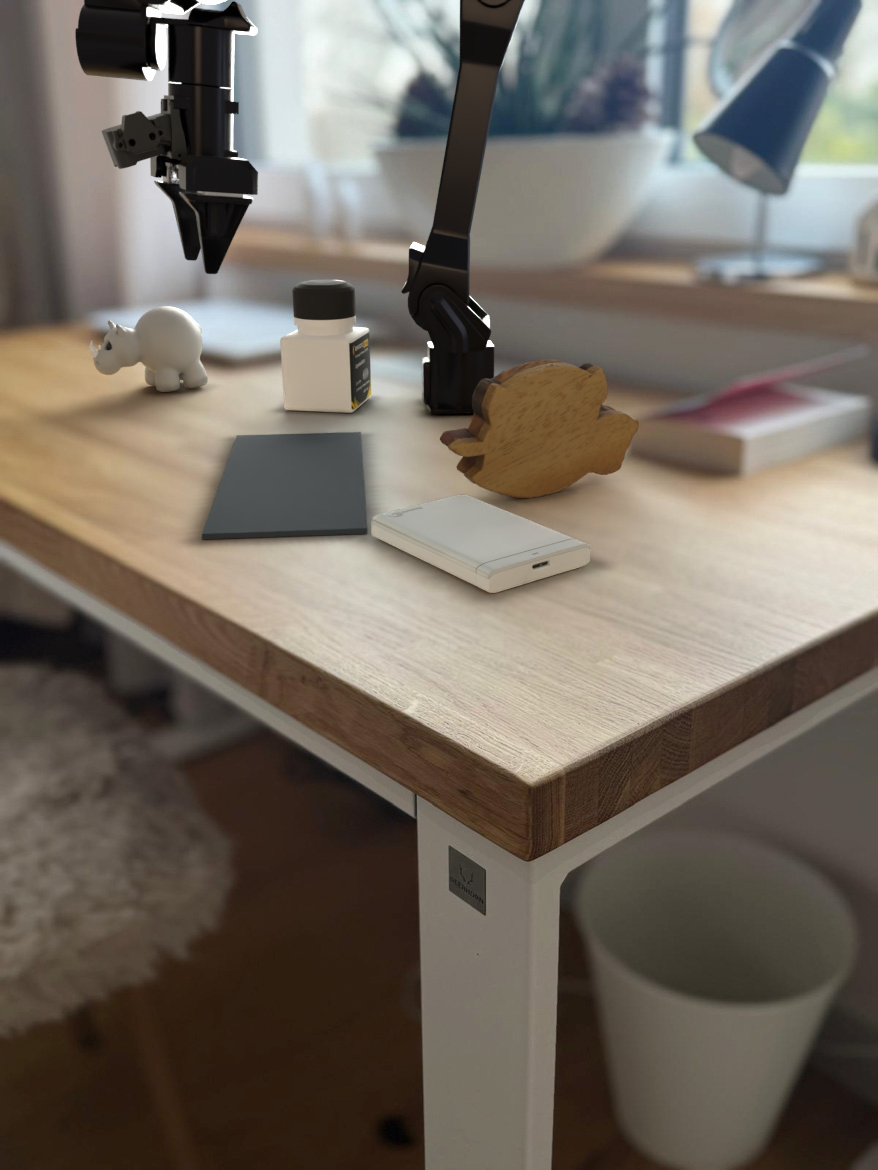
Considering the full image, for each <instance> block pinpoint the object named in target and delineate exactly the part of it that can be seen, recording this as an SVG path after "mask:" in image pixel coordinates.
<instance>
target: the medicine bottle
mask: <svg viewBox="0 0 878 1170" xmlns="http://www.w3.org/2000/svg"><path fill="white" fill-rule="evenodd" d="M291 291H292V292H291V293H292V309H293V325H294V326H296V327H297V329H295V330H293V331H292V332H289V333H287V334H286V335H284V336H282V337H280V339H279V345H280V360H281V361H280V362H281V363H280V364H281V378H282V391H283V407H284V410H286V411H299V412H319V413H320V412H324V413H345V414H347V413H348V414H352V413H354V412H355V411H356V410H357V409H359V408H360V407H361V406H362V405H364V403H366V402H367V401H368V400H370V399H371V398H372V375H371V371H372V370H371V342H370V341H371V340H370V328H368V327H362V326H354V325H355V324H357V311H356V288H355V286H354V285H353V284H351V283H350V282H348V281H345V280H340V279H311V280H304V281H301V282H299V283H297V284H295V285H294V286H293V288H292V290H291Z"/></svg>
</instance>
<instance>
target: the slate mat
mask: <svg viewBox="0 0 878 1170" xmlns="http://www.w3.org/2000/svg"><path fill="white" fill-rule="evenodd" d="M363 461H364V460H363V445H362V433H361V431H350V432H349V431H346V432H345V431H344V432H343V431H341V432H308V433H305V432H303V433H275V434H272V433H271V434H238V435H237V434H236V437H235V440H234V442H233V444H232V448H231V450H230V454H229V456H228V459H227V462H226V465H225V468H224V471H223V474H222V475H221V478H220V481H219V484H218V487H217V490H216V493H215V496H214V499H213V501H212V504H211V508H210V510H209V513H208V515H207V518H206V522H205V524H204V527H203V529H202V532H201V540H223V539H224V540H225V539H227V540H229V539H250V538H283V537H284V538H285V537H309V536H312V537H313V536H336V535H337V536H339V535H341V536H342V535H365V534H366V535H367V534H368V524H367V523H368V522H367V507H366V494H365V493H366V492H365V478H364V477H365V476H364V466H363V465H364V463H363Z"/></svg>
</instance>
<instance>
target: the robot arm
mask: <svg viewBox="0 0 878 1170" xmlns="http://www.w3.org/2000/svg"><path fill="white" fill-rule="evenodd" d="M226 1H227V0H83V3H84V4H82V7H81V8H80V12H79V15H78V20H77V21H78V22H77V27H76V28H75V47H76V55H77V58H78V62H79V65H80V68H81V70H82V72H83V73H84V74H85V75H86V76H91V77H92V76H93V77H102V78H103V77H104V78H112V79H113V78H115V79H124V80H133V81H134V80H135V81H145V82H151V81H152V80H153V79H154V78H155V77H154V76H155V74H156V71H162V70H164V68H165V67H166V63H167V82H168V83H167V95H163V98H160V112H159V113H155V114H153V115H149V116H146V115H145V114H144V113H143V111H140V110H137V111H134V112H133V113H130V114H123V115H122V116H121V123H120V124H117V125H114V126H111V127H108V128H105V129H102V130H101V134H102V136H103V140H104V142H105V145H106V147H107V150H108V153H109V156H110V159H111V161H112V164H113V166H114V167H115V168H118V169H119V170H122V169H126V168H131V167H134V166H137V164H138V162H141V161H145V160H148V159H149V161H150V162H149V163H150V167H149V168H150V177H153V178H158V179H161V178H162V180H153V183H154V184H155V186H156V187H157V188H158V189H160V191H161V192H162V193H163V194H164V195H165V196H166V197H167V198H168V199H169V200H170V202H171V205H172V209H173V213H174V217H175V221H176V226H177V231H178V234H179V239H180V243H181V247H182V253H183V257H184V259H185V260H186V261H195V262H196V261H197V260H198V258H199V255H200V252H201V258H202V264H203V270H204V273H206V274H207V275H217V274H218V273H219V271H220V268H221V266H222V264H223V262H224V260H225V257H226V256H227V253H228V251H229V249H230V247H231V245H232V242H233V240H234V238H235V236H236V233H237V231H238V229H239V227H240V225H241V223H242V221H243V220H244V219H243V218H244V217H245V215H246V213H247V211H248V209H249V207H250V205H253V200H254V198H253V197H251V196H257V195H259V194H258V193H259V192H258V191H259V189H258V188H259V171H258V170H257V169H256V168H255V167H254V165H253V164H252V163H251V162H250V161H249V160H248V159H245V158H240V157H239V151H237V150H234V115H239V113H240V111H239V109H240V104H239V103H240V102H239V101H234V85H235V84H234V83H235V82H234V81H235V80H234V79H235V78H234V77H235V34H237V35H246V36H247V35H248V36H256V35H257V34H258V31H259V30H258V27H257V26H256V25H255V24H254V23H253V22H252V21H251V20H250V19H249V17H248V16H247V14H246V12H245V11H244V9H243V7H242V5H241V4H240V3H239V2H236V1H234V0H233V1H231V2H230V4H229V5H228V6H227V7H226V8H225V9H223V10H221V9H213V8H211V9H210V8H202V7H197V6H199V5H200V4H201V3H202V4H204V5H218V4H221V3H224V2H226ZM525 2H526V0H459V67H458V73H457V79H456V85H455V90H454V96H453V103H452V108H451V115H450V121H449V124H448V125H449V126H448V132H447V138H446V143H445V151H444V154H443V155H444V156H443V162H442V168H441V174H440V179H439V186H438V192H437V197H436V203H435V210H434V214H433V221H432V227H431V228H430V231H429V235H428V238H427V240H426V243H425V245H422V244H420V243H418V242H415V241H413V242H412V244H410V247H408V248H409V249H408V274H407V279H406V281H405V283H404V285H403V287H402V290H401V294H403V295H405V294H408V296H407V309H408V313H409V316H410V317H411V318H412V320H413V322H414V323H415V325H417V326H418V327H419V328H420V329H422V330H424V331H426V332H427V334H428V336H429V339H430V341H427V342H426V347H427V348H426V349H427V351H426V352H427V353H426V354H427V355H426V357H422V359H421V399H422V403H423V404H424V405H425V406H427V409H428V411H429V414H430V415H451V414H455V415H456V414H474V410H473V408H472V397H473V393H474V391H475V389H476V387H477V385H478V383H479V382H480V381H481V380H482V379H484V378H487V379H491V378H493V377H495V344H494V343H493V342H492V340H490V337H491V335H492V323H491V316H490V314H488V312H486V311H485V310H484V309H483V308H482V307H481V306H480V305H479V303H478V302H476V301H475V300H474V299H473V298H472V296H471V295H470V293H471V231H472V225H473V219H474V214H475V208H476V203H477V198H478V194H479V193H478V192H479V186H480V181H481V177H482V176H481V175H482V170H483V165H484V161H485V160H484V159H485V153H486V148H487V144H488V143H487V142H488V138H489V132H490V126H491V120H492V116H493V111H494V110H493V109H494V104H495V100H496V99H495V98H496V94H497V88H498V84H499V83H498V82H499V78H500V77H499V76H500V72H501V70H502V67H503V64H504V61H505V58H506V56H507V53H508V50H509V47H510V45H511V42H512V39H513V36H514V33H515V30H516V28H517V24H518V22H519V19H520V16H521V13H522V10H523V8H524V5H525ZM189 11H190V12H189ZM188 12H189V15H188V18H173V17H171V18H170V17H162V13H164V14H174V15H185V14H186V13H188ZM166 28H167V30H166ZM166 31H167V32H166ZM166 33H167V34H166ZM248 195H249V196H248Z"/></svg>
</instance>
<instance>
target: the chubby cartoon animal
mask: <svg viewBox="0 0 878 1170" xmlns="http://www.w3.org/2000/svg"><path fill="white" fill-rule="evenodd" d="M107 325H108V326H109V331H108V332H107V333H106V334H105V336H104V337H103V345H100V344H99V345H98V346H97V347H98V349H97V348H96V347H95V345H94V341H93V340H90V343H89V346H88V352H89V354H90V356H91V358H92V359H93V364H94V365H93V366H94V367H95V369H96V371H98V372H99V373H100V374H101V375H106V376H112V375H115V374H116V373H118V372H120V370H121V369H122V368H130V367H134V366H136V365H137V364H139V363H141V365H142V366H144V367H145V368H144V380H145V383H146V385H148V386H152V387H155V388H156V391H158V392H163V393H171V392H175V391H178V390H179V389H180V388H181V381H182V382H183V385H184V387H186V388H188V389H194V388H200V387H203V386H206V385H207V384H208V375H207V371H206V369H205V367H204V365H203V363H202V361H201V356H202V355H201V354H202V351H203V345H204V343H203V329H202V327H201V325H200V324H199V323H198V322H197V321H196V320H195V319H194V318H193V317H192V316H191V315H190V314H189V313H188V312H186V311H184V310H182V309H180V308H178V307H176V306H175V307H174V306H169V305H167V306H166V305H165V306H164V305H162V306H158V307H154V308H152V309H149V310H148V311H146V312H145V313H144V314H142V316H140V318H138V321H137V322H136V324H135V326H134V328H130V327H128V326H121V324H118V323H117V324H115V322H113V321H112V320H108V321H107Z"/></svg>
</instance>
